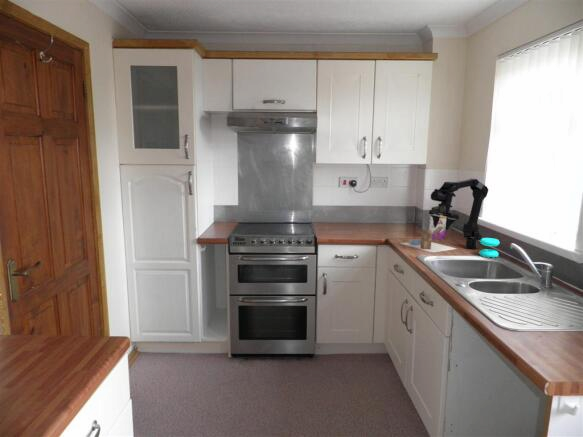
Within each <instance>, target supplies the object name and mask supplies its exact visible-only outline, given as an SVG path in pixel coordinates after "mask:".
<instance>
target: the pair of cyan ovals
mask: <svg viewBox="0 0 583 437" xmlns="http://www.w3.org/2000/svg"><path fill="white" fill-rule="evenodd" d="M479 241H480V244H481V245H483V246H484V247H485V246H486V247H498V246H500V243H501V242H500V241H499V239H497V238H490V237H482V238H481V239H480V240H479ZM479 256H481V257H484V258H487V257H492V258H491V259H495V257H496V258H498V257H499V252H498V251H497V250H495V249H488V248H484V249H481V250H479Z"/></svg>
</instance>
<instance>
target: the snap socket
mask: <svg viewBox="0 0 583 437" xmlns="http://www.w3.org/2000/svg"><path fill="white" fill-rule="evenodd" d="M409 242H410V244H411V245H419V246H421V239H409Z"/></svg>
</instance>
